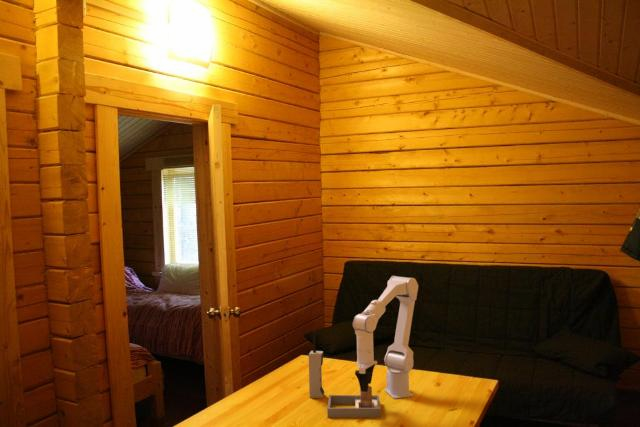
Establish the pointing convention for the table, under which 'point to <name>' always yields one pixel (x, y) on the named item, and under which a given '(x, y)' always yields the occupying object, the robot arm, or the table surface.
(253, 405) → the table surface
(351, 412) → the grey tray
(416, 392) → the table surface
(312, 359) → the vintage mobile phone
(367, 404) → the walnut peg
